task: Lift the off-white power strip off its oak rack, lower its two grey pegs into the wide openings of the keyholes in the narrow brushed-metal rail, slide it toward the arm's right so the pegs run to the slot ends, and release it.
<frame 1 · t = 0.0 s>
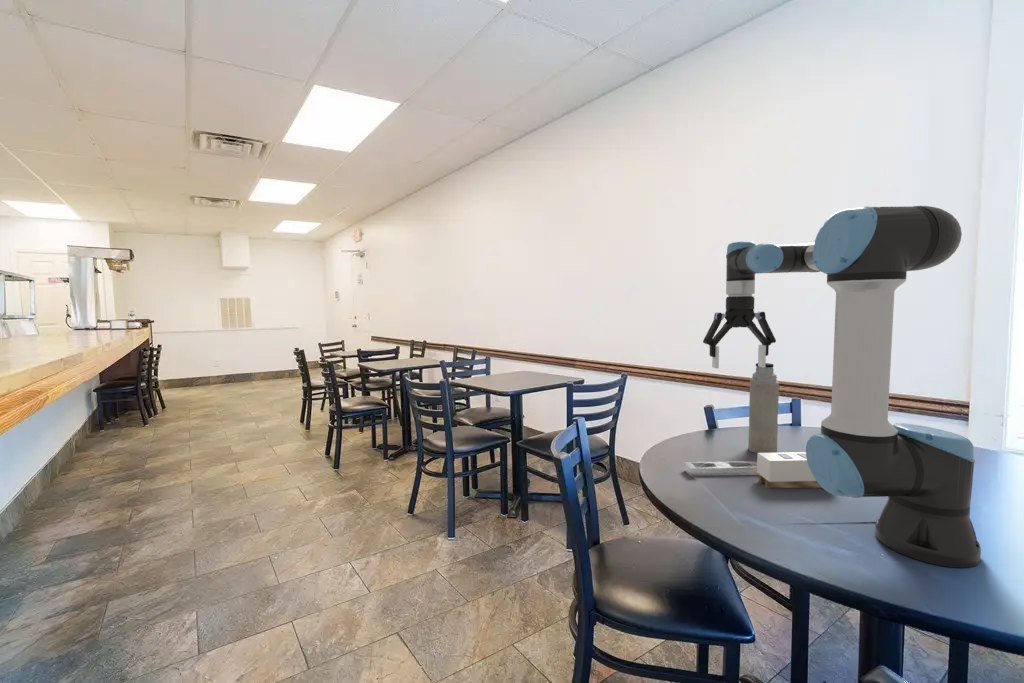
hand: (738, 367, 135), 28 cm above the table, fingers open, 13 cm apart
keyhole plate: (723, 473, 127), on the table
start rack: (794, 485, 117), on the table
thermos bottle: (762, 451, 144), on the table
power strip: (794, 484, 117), resting on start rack
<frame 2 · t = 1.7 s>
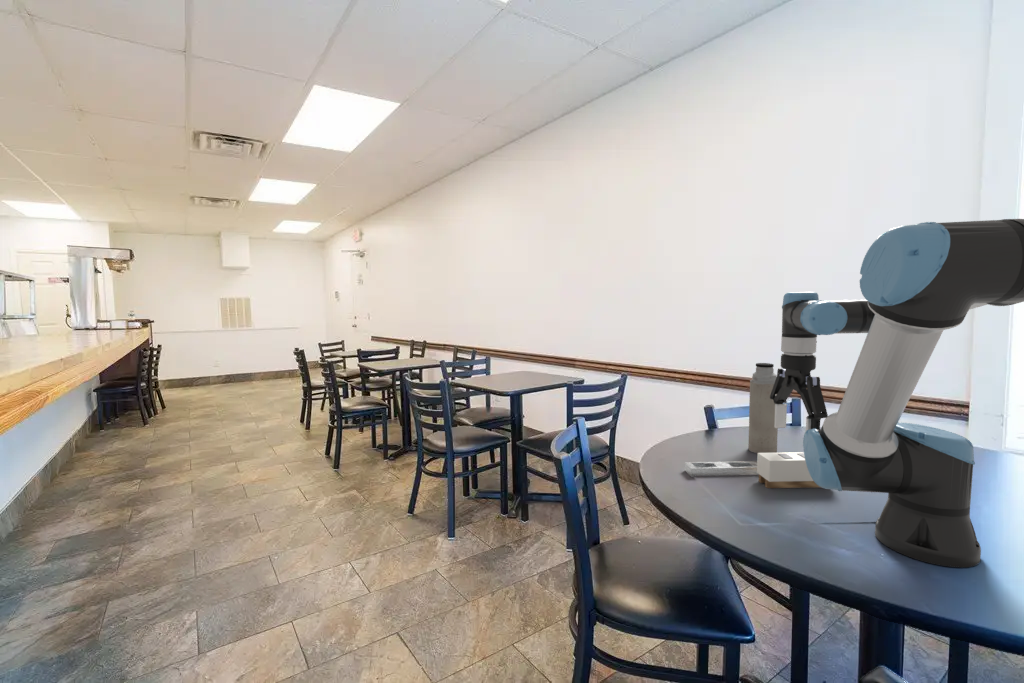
hand: (795, 435, 116), 13 cm above the table, fingers open, 13 cm apart
nothing on the table moved.
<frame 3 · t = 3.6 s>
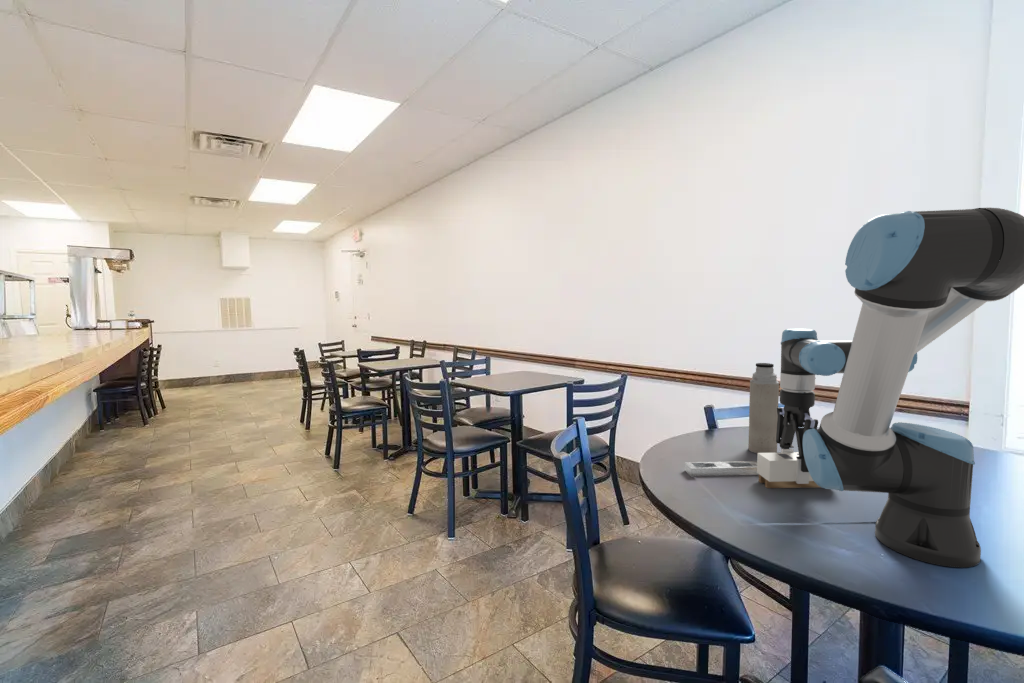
hand: (794, 477, 117), 2 cm above the table, fingers closed on power strip, 6 cm apart
power strip: (794, 484, 117), resting on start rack, touching gripper
everything else where it was.
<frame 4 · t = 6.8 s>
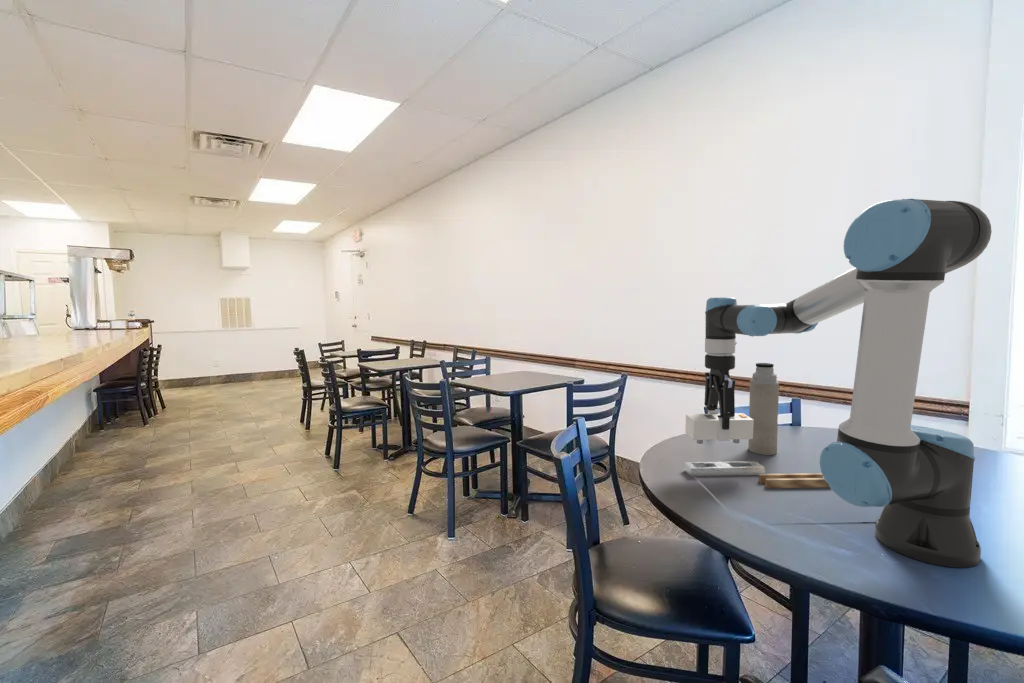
hand: (718, 436, 126), 10 cm above the table, fingers closed on power strip, 6 cm apart
power strip: (717, 442, 126), point 9 cm above the table, touching gripper
everything else where it was.
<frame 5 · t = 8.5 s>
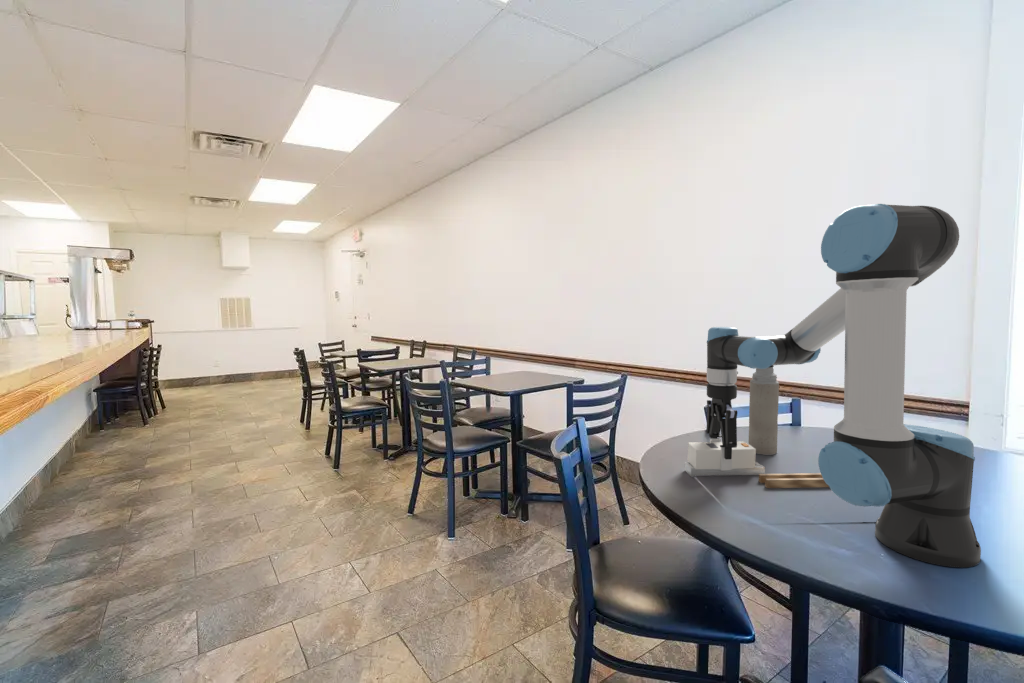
hand: (720, 465, 126), 2 cm above the table, fingers closed on power strip, 6 cm apart
power strip: (720, 471, 127), point 1 cm above the table, touching gripper
everything else where it was.
when the fingers open (2 cm above the table, at t = 10.0 s): power strip stays where it is, resting on keyhole plate.
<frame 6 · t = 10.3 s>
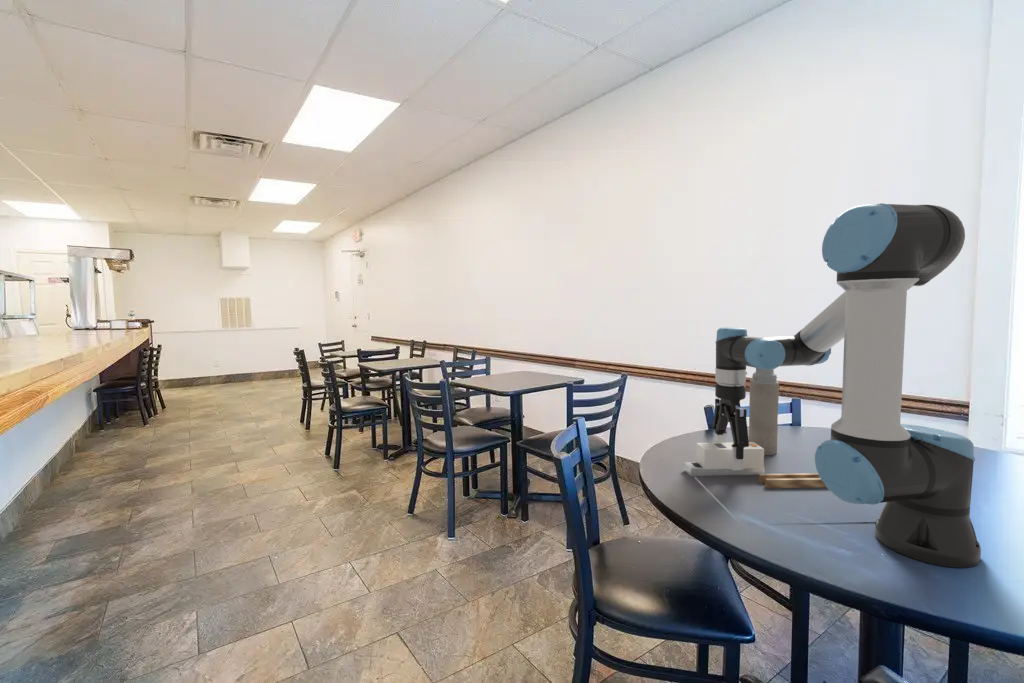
hand: (728, 462, 126), 3 cm above the table, fingers open, 9 cm apart
power strip: (728, 471, 127), resting on keyhole plate
everything else where it was.
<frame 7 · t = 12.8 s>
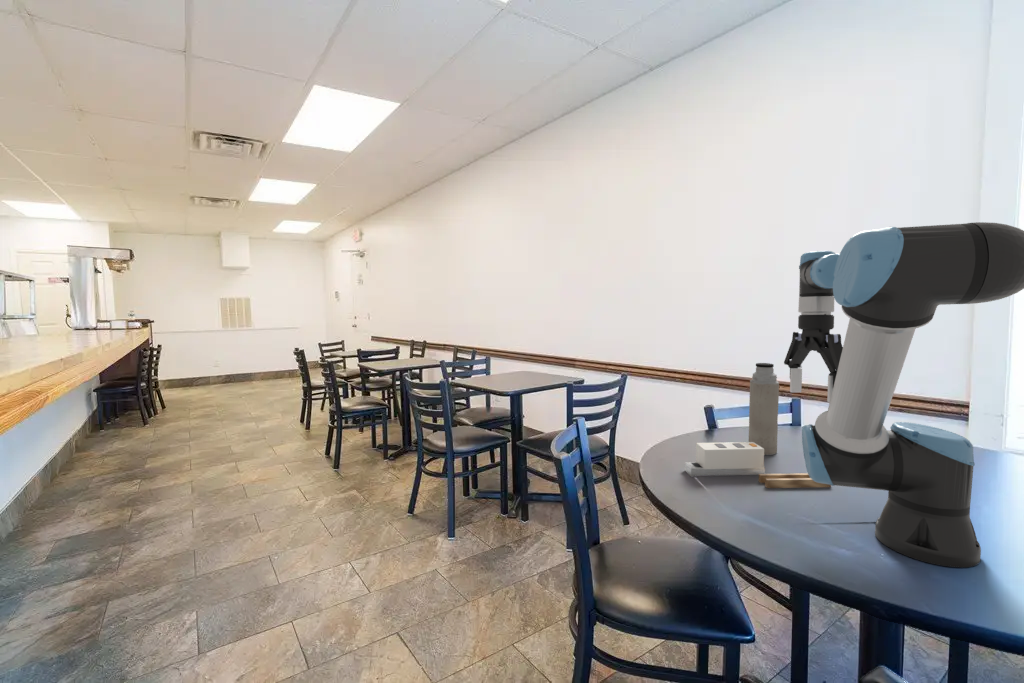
hand: (813, 397, 116), 23 cm above the table, fingers open, 13 cm apart
nothing on the table moved.
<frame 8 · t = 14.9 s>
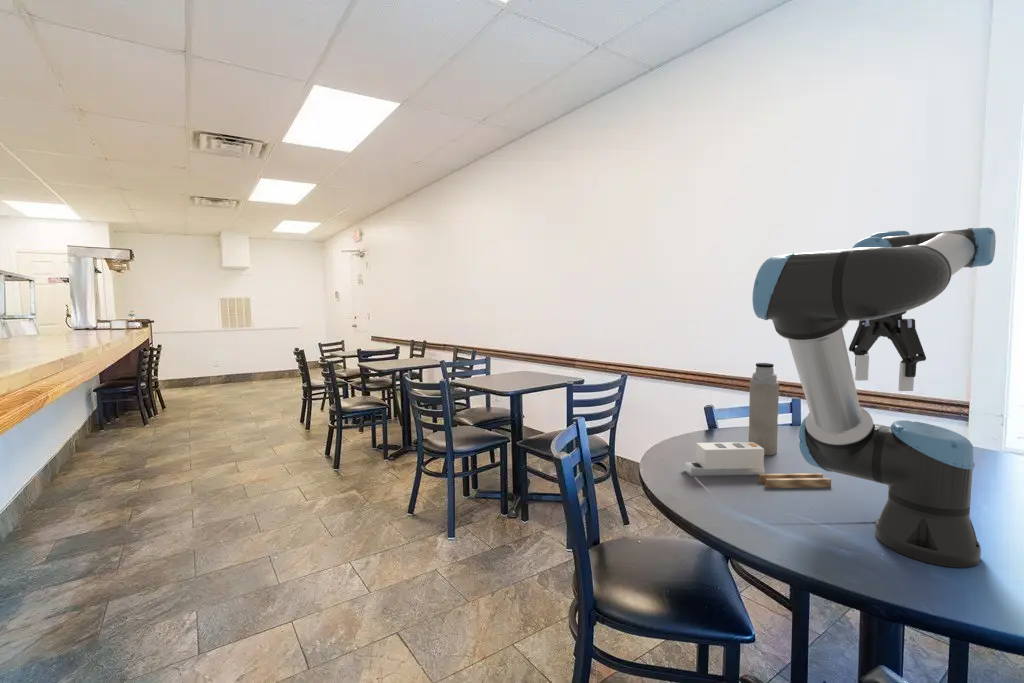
hand: (882, 385, 110), 27 cm above the table, fingers open, 13 cm apart
nothing on the table moved.
at the end: power strip 0.2 cm from the target spot on the keyhole plate, point 0.4 cm above the keyhole plate's base; power strip tilted 0°; the gripper is holding nothing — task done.
